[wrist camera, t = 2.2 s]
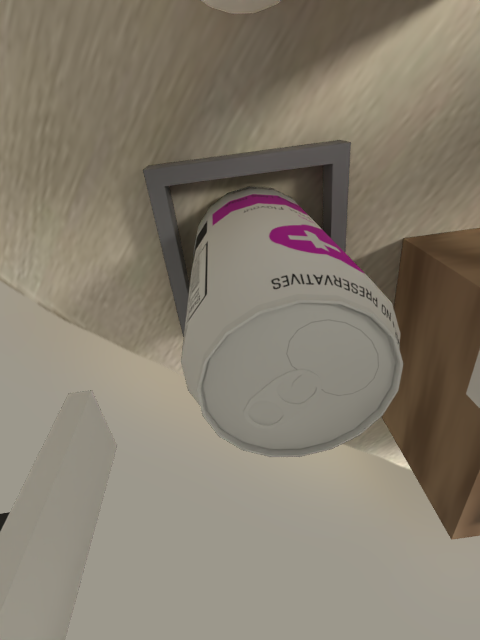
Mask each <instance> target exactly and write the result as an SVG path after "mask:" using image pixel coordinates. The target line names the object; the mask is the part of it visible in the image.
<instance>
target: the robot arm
mask: <svg viewBox="0 0 480 640" xmlns="http://www.w3.org/2000/svg"><path fill="white" fill-rule="evenodd" d="M466 394H467V395H468V397H469V398H470V399H471V400H472V401H473V402H474V403H475V404H476V405H477V406H478V407H479V408H480V350H479V353H478V356H477V360H476V363H475V366H474V369H473V373H472V376H471V379H470V382H469V386H468V389H467V392H466ZM116 448H117V445H116V443H115V440H114V438H113V436H112V433H111V431H110V429H109V427H108V425H107V423H106V420H105V418H104V416H103V414H102V412H101V409H100V407H99V405H98V403H97V401H96V398H95V396H94V394H93V392H92V390H90V391H83V392H77V393H70V394H68V396H67V398H66V400H65V402H64V404H63V406H62V408H61V410H60V412H59V414H58V416H57V418H56V420H55V422H54V424H53V426H52V428H51V430H50V432H49V434H48V436H47V439H46V440H45V443H44V444H43V446H42V448H41V450H40V452H39V455H38V457H37V459H36V461H35V463H34V465H33V467H32V469H31V471H30V473H29V475H28V477H27V479H26V481H25V483H24V485H23V487H22V489H21V491H20V493H19V495H18V497H17V499H16V501H15V503H14V506H13V507H12V509H11V511H10V512H9V513H3V514H0V640H65V639H66V635H67V631H68V628H69V624H70V620H71V617H72V613H73V609H74V605H75V602H76V598H77V594H78V590H79V587H80V583H81V579H82V575H83V572H84V568H85V564H86V560H87V556H88V553H89V549H90V545H91V541H92V538H93V534H94V530H95V527H96V523H97V519H98V516H99V512H100V508H101V504H102V501H103V497H104V493H105V489H106V486H107V481H108V478H109V474H110V471H111V467H112V463H113V459H114V456H115V452H116Z"/></svg>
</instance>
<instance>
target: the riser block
mask: <svg viewBox="0 0 480 640" xmlns="http://www.w3.org/2000/svg"><path fill="white" fill-rule="evenodd" d="M394 312H395V315H396V319H397V323H398V326H399V330H400V353H401V357H402V360H403V369H402V374H401V379H400V384H399V390H398V392H397V394H396V395H395V397H394V398H393V400H392V401H391V403H390V405H389V406H388V408H387V409H386V411H385V412H384V414H383V415H382V418H383V420H384V422H385V423H386V425H387V427H388V429H389V430H390V432H391V434H392V436H393V438H394V439H395V441H396V443H397V445H398V446H399V448H400V450H401V452H402V453H403V455H404V457H405V459H406V460H407V462H408V464H409V466H410V467H411V469H412V471H413V473H414V474H415V476H416V478H417V480H418V482H419V483H420V485H421V487H422V489H423V490H424V492H425V494H426V496H427V497H428V499H429V501H430V503H431V504H432V506H433V508H434V510H435V511H436V513H437V515H438V517H439V518H440V520H441V522H442V524H443V526H444V527H445V529H446V531H447V533H448V534H449V536H450V538H451V539H458V538H465V537H472V536H479V535H480V408H479V407H478V406H477V405H476V404H475V403H474V402H473V401H472V400H471V399H470V398H469V397H468V395H467V394H466V392H467V389H468V386H469V382H470V379H471V376H472V373H473V369H474V366H475V363H476V360H477V356H478V353H479V350H480V228H476V229H469V230H461V231H454V232H447V233H439V234H432V235H425V236H417V237H410V238H403V246H402V253H401V260H400V267H399V274H398V282H397V289H396V296H395V303H394Z"/></svg>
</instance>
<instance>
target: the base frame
mask: <svg viewBox="0 0 480 640" xmlns="http://www.w3.org/2000/svg"><path fill="white" fill-rule="evenodd" d="M350 146H351V142H346V141H341V140H337V141H329V142H322V143H314V144H307V145H299V146H292V147H284V148H277V149H270V150H262V151H255V152H247V153H240V154H232V155H225V156H217V157H210V158H203V159H195V160H188V161H180V162H173V163H165V164H158V165H151V166H148V167H146V168H145V169H144V170H143V172H144V177H145V181H146V185H147V189H148V193H149V197H150V201H151V205H152V210H153V214H154V218H155V222H156V226H157V230H158V234H159V238H160V243H161V247H162V251H163V255H164V259H165V263H166V267H167V271H168V276H169V280H170V284H171V288H172V292H173V296H174V300H175V304H176V309H177V313H178V317H179V321H180V325H181V329H182V333H183V337H184V331H185V322H186V314H187V305H188V296H189V288H190V283H189V279H188V274H187V269H186V264H185V260H184V255H183V250H182V245H181V241H180V236H179V231H178V226H177V222H176V217H175V212H174V207H173V203H172V198H171V193H170V188H169V186H171V185H178V184H185V183H193V182H200V181H208V180H215V179H223V178H230V177H237V176H245V175H252V174H260V173H267V172H274V171H282V170H289V169H297V168H304V167H312V166H319V165H323V226H322V230H323V231H324V232H325V233H326V234H327V235H328V236H329V237H330V238H331V239H332V240H333V241H334V242H335V243H336V244H337V245H338V246H339V247H340V248H341V249H342V250H343V251H344V252H345V248H346V228H347V207H348V187H349V167H350Z"/></svg>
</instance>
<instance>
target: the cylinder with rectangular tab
mask: <svg viewBox="0 0 480 640" xmlns="http://www.w3.org/2000/svg"><path fill="white" fill-rule="evenodd" d="M201 1H202V2H204V3H205V4H207V5H208V6H209V7H211V8H214V9H218V10H221V11H224V12H228V13H231V14H245V13H257V12H259V11H261V10H264V9H266V8H269V7H271V6H274V5H276V4H278V3H279V2H280V1H281V0H201Z"/></svg>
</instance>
